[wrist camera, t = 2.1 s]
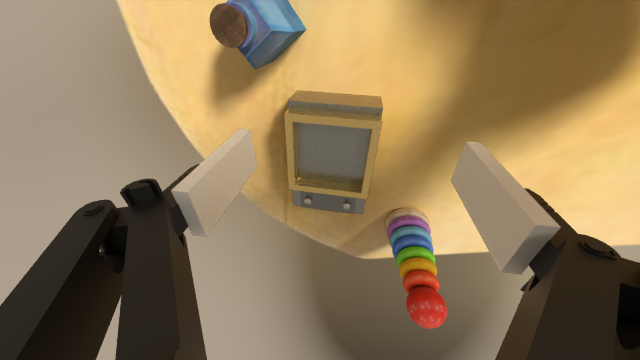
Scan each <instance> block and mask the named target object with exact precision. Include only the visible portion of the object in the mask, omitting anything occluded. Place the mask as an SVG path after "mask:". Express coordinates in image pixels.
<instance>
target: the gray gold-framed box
mask: <svg viewBox="0 0 640 360" xmlns="http://www.w3.org/2000/svg"><path fill="white" fill-rule="evenodd" d="M382 110H383V106H382V101H381V97H377V96H364V95H351V94H338V93H325V92H311V91H298V90H297V91H296V92H295V94H294V95H293V96H292V97H291V98H290V99H289V100H288V109H287V111H286V112H285V113H284V119H285V136H286V152H287V168H288V185H289V190H293V205H296V206H301V207H306V208H314V209H321V210H329V211H336V212H344V213H351V214H354V213H356V214H363V209H364V204H365V199H367V197H368V192H369V187H370V182H371V177H372V172H373V167H374V162H375V157H376V152H377V147H378V142H379V137H380V131H381V126H382V117H381V116H382Z"/></svg>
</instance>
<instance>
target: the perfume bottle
mask: <svg viewBox="0 0 640 360" xmlns="http://www.w3.org/2000/svg"><path fill="white" fill-rule="evenodd" d="M210 27H211V30H212V33H213V35H214V36H215V38H216V39H217V40H218V41H219V42H220V43H221V44H222V45H224V46H226V47H230V48H238V49H239V50H240V51H241V52H242V54H243V55H244V56H245V57H246V59H247V60H248V61H249V62H250V64H251V65H252V66H253V67H254V68H255V69H257V68H259V67H261V66H263V65H266V64H268V63H270V62H272V61H273V60H274V59H275V58H276V57H277V56H278V55H280V54H281V53H282V52H283V51H284V50H285V49H286V48H287V47H288V46H289V45H290V44H291V43H292V42H293V41H294V40H295V39H296V38H298V37H299V36H300V35H301V34H302V33H303V32H304V31H305V30H306V28H305V26H304V25H303V23H302V22H301V20H300V19H299V17H298V16H297V14H296V13H295V11H294V9H293V8H292V6H291V5H290V3H289V2H288V0H228V1H227V2H226V3H222V4H218V5H216V6H215V7H214V8H213V10H212V12H211V14H210Z"/></svg>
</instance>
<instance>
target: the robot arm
mask: <svg viewBox="0 0 640 360" xmlns="http://www.w3.org/2000/svg"><path fill="white" fill-rule="evenodd" d="M256 167H257V162H256V157H255V151H254V146H253V141H252V136H251V131H250V130H245V129H239V130H238V131H237V132H235V133H234V134H233V135H232V136H231V137H230V138H229V139H228V140H227V141H225V142H224V143H223V144H222V145H221V146H220V147H219V148H218V149H217V150H215V151H214V152H213V153H212V154H211V155H210V156H209V157H208V158H207V159H205V160H204V161H203V162H202V163H201V164H197V165H195V166H194V167H191V168H190V169H188V170H187V171H186V172H185V173H184V174H183V175H182V176H180V177H179V178H178V180H176V181H175V182H174V183H172V184H171V185H170V186H169V187H168V188H166V189H165V190H164V191H163V192H162V190H161V188H160V186H159V184H158V182H157V181H156V180H154V179H143V180H138V181H135V182H132V183H131V184H129V185H127V186H125V187H124V188H123V189H122V190H121V192H120V194H121V195H122V197H123V198H124V200H125V201H126V203H127V204H128V206H129V207H122V208H116V207H115V205H114V204H113V203H112V201H110V200H99V201H95V202H91V203H90V204H86V205H85V206H83V207H82V208H80V209H79V210H78V211H76V212H75V213H74V215H73V216H72V217H71V218H70V220H69V221H68V222H67V223H66V225H65V226H64V227H63V228H62V230H61V231H60V232H59V233H58V235H57V236H56V237H55V238H54V240H53V241H52V242H51V243H50V245H49V246H48V247H47V248H46V250H45V251H44V252H43V253H42V255H41V256H40V257H39V258H38V260H37V261H36V262H35V263H34V265H33V266H32V267H31V268H30V270H29V271H28V272H27V273H26V275H25V276H24V277H23V278H22V280H21V281H20V282H19V283H18V284H17V286H16V287H15V288H14V289H13V291H12V292H11V293H10V294H9V296H8V297H7V298H6V299H5V301H4V302H3V303H2V304H1V306H0V360H96V358H97V355H98V353H99V350H100V347H101V345H102V342H103V340H104V337H105V335H106V332H107V330H108V327H109V325H110V322H111V320H112V317H113V314H114V312H115V309H116V307H117V304H118V302H119V299H120V297H121V294H122V297H121V306H120V317H119V327H118V338H117V348H116V359H115V360H207V357H206V351H205V346H204V340H203V335H202V329H201V323H200V317H199V311H198V305H197V300H196V294H195V289H194V283H193V277H192V271H191V265H190V260H189V254H188V248H187V243H186V237H185V236H184V233H183V232H184V231H185V230H186V228H187V227H189V229H190V231H191V233H192V235H196V236H205V237H207V236H208V234H209V233H210V231H211V230H212V229H213V227H214V226H215V224H216V223H217V222H218V220H219V219H220V217H221V216H222V215H223V213H224V212H225V210H226V209H227V208H228V206H229V205H230V203H231V202H232V201H233V199H234V198H235V196H236V195H237V194H238V192H239V191H240V189H241V188H242V187H243V185H244V184H245V182H246V181H247V180H248V178H249V177H250V175H251V174H252V173H253V171H254V170H255V168H256ZM451 182H452V184H453V186H454V188H455V189H456V191H457V193H458V195H459V197H460V199H461V200H462V202H463V204H464V206H465V208H466V210H467V211H468V213H469V215H470V217H471V219H472V221H473V222H474V224H475V226H476V228H477V230H478V232H479V233H480V235H481V237H482V239H483V241H484V243H485V244H486V246H487V248H488V250H489V252H490V254H491V255H492V257H493V259H494V261H495V263H496V264H497V266H498V268H499V270H500V272H505V273H513V274H522V273H523V271H524V270H525V269H526V268H527V267H528V265H529V266H530V267H531V269H532V270H533V272H534V273H535V274H534V275H533V276H532V277H531V279H530V280H529V281H528V282H527V283H526V284H525V285H524V286H523V287H522V289H521V290H522V291H523V292H524V291H525V292H524V294H523V296H522V299H521V301H520V303H519V306H518V308H517V310H516V313H515V315H514V317H513V320H512V322H511V324H510V326H509V329H508V331H507V333H506V336H505V338H504V340H503V343H502V345H501V347H500V350H499V352H498V354H497V357H496V359H495V360H640V263H638V262H634V261H631V260H627V259H624V258H621V257H620V255H619V254H618V253H617V252H616V251H615V250H614V249H613V248H611V247H610V246H609V245H607V244H606V243H604V242H602V241H600V240H598V239H596V238H593V237H590V236H587V235H582V234H578V233H577V232H576V231H575V230H574V229H573V228H572V227H571V226H570V225H569V224H568V223H567V222H566V221H565V220H564V219H563V218H562V217H561V216H560V215H559V214H558V213H557V212H554V211H555V210H554V209H553V208H552V207H551V206H550V205H548V203H547V202H546V201H545V200H544V199H543V198H542V197H541V196H539V195H538V194H536V193H534V192H533V191H531V190H530V189H526V188H523V187H522V186H521V185H520V184H519V183H518V182H517V181H516V180H515V178H514V177H513V176H512V175H511V174H510V173H509V172H508V171H507V170H506V169H505V168H504V167H503V166H502V165H501V164H500V163H499V162H498V161H497V160H496V158H495V157H494V156H493V155H492V154H491V153H490V152H489V151H488V150H487V149H486V148H485V147H484V146H483V145H482V144H481V143H480V142H466V143H465V145H464V148H463V150H462V153H461V155H460V158H459V161H458V163H457V166H456V168H455V171H454V173H453V176H452V178H451ZM99 249H100V250H101V252H100V251H99Z"/></svg>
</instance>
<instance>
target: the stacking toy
mask: <svg viewBox="0 0 640 360" xmlns="http://www.w3.org/2000/svg"><path fill="white" fill-rule="evenodd" d="M385 228H386V231H387V235H388V238H389V240H390V245H391V247H392V251H393V255H394V257H395V258H396V263H397V265H398V267H399V273H400V275H401V277H402V278H403V287H404V289H405V290H406V292H408V293H409V295H408V297H407V301H406V305H407V310H408V313H409V315H410V317H411V318H412V319H413V321H414V322H416V323H417V324H418V325H420V326H422V327H424V328H436V327H439V326H440V325H442V324H443V322H444V321H445V319H446V316H447V308H446V304H445V302H444V300H443V298H442V297H441V295H440V294H439V293H438V292H437V290H438V289H439V281H438V279H437V278H436V275H437V268H436V266H435V263H436V260H435V256H434V255H433V247H432V238H431V236H430V234H431V231H430V227H429V220H428V218H427V216H426V215H425V214H424V213H423V212H421V211H419V210H417V209H412V208H402V209H398V210H396V211H394V212H392V213H391V214H390V215H389V216H388V217H387V219H386V221H385Z"/></svg>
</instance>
